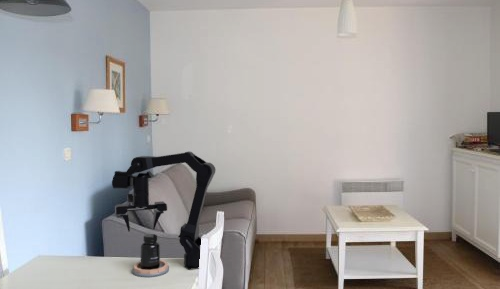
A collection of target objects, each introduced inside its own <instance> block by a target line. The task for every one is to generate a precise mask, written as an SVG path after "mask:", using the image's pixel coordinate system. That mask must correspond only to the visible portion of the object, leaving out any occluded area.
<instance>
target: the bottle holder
mask: <svg viewBox="0 0 500 289" xmlns="http://www.w3.org/2000/svg"><path fill="white" fill-rule="evenodd" d="M132 267H133V268H132V274H133V276H136V277H138V278H139V277H140V278H155V277H160V276H163V275H166V274H167V273H168V272H169V271H170V266H169V264H168V261H165V260H163V259H160V267H159V268H158V269H152V270H144V269H141V261H138V262H136V263H134V265H133V266H132Z"/></svg>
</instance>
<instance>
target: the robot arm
mask: <svg viewBox="0 0 500 289" xmlns="http://www.w3.org/2000/svg"><path fill="white" fill-rule="evenodd" d="M183 163H184V164H186V165H187V166H188V167H189V168H190V169H191V170H192V171H193V172H195V173H196V175H195V181H196V188H195V191H194V195H193V200H192V203H191V207H190V211H189V215H188V219H187V222H184V224H182V225H181V226H180V233H179V235H178V237H177V238H179V244H180V245H181V246H182V247H183V250H184V252H185V253H184V254H183V265H184V267H186V269H187V270H195V269H199V268H198V267H199V259H200V245H201V239H202V237H200V220H201V215H202V211H203V207H204V203H205V201H206V200H205V199H206V195H207V191H208V188H209V187H210V184H211V182H212V181H213V178H214V176H215V174H216V167H215V165H214V164H213V163H211V162H207V161H205V160H204V159H202V158H201V157H199V156H197V155H196V153H193V152H192V151H185V152H181V153H174V154H173V153H172V154H167V155H161V156H160V155H159V156H156V155H155V156H151V155H140V156H135V157H134V158H132V160H131V161H130V166H129V167H128V168H127V170H126V171H122V170H116V171H114V175H113V177H112V181H111V185H112V188H113V189H115V190H130V189H131V187H132V193H128V194H127V198H126V200H127V202H126V203H129V204H132V205H129V206H128V205H127V204H126V203H118V204H116V205H115V206H114V213H115V214H116V215H119V218H120V217H122V218H123V220H124V222H125V225H126V229H127V232H130V230H131V228H130V220H129V214H128V212H133V211H136V212H137V211H150V210H153V218H152V230H156V226H157V224H158V220H159V218H160V217H161V215H162V214H164V212H167V211H168V204H167V203H166V202H165V201H154V203H153V204H150V196H149V195H150V188H149V187H150V186H149V185H150V182H149V180H150V179H152V178H154V177H155V175H154V174H153V173H152V172H151V171H150V169H155V168H157V167H164V166H169V165H170V166H171V165H178V164H183ZM148 170H149V171H148ZM135 174H137V175H135Z"/></svg>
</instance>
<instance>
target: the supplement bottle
mask: <svg viewBox="0 0 500 289" xmlns="http://www.w3.org/2000/svg"><path fill="white" fill-rule="evenodd" d="M142 241H143V242H142V243H141V244H140V262H141V269H144V270H152V269H158V268H159V267H160V260H161V244H160V243H159V242H158V235H157V234H155V233H148V234H144V235H143V239H142Z"/></svg>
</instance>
